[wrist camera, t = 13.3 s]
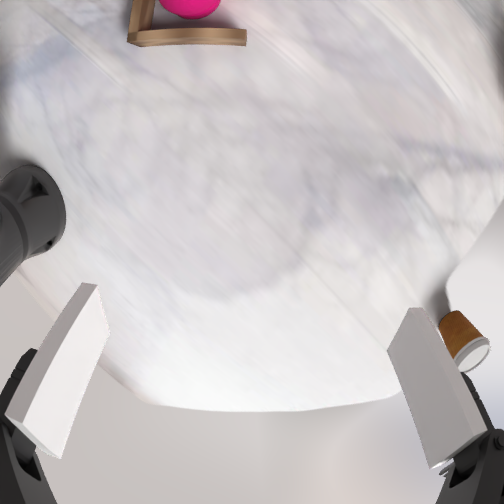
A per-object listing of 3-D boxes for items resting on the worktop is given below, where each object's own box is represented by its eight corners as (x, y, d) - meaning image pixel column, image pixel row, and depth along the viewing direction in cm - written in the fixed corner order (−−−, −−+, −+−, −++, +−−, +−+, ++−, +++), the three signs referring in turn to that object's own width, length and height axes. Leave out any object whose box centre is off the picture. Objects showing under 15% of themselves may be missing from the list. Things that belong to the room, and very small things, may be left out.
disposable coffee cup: (473, 308, 50) (498, 344, 40) (449, 338, 55) (470, 376, 44) (450, 300, 49) (478, 340, 38) (424, 334, 53) (446, 375, 43)
